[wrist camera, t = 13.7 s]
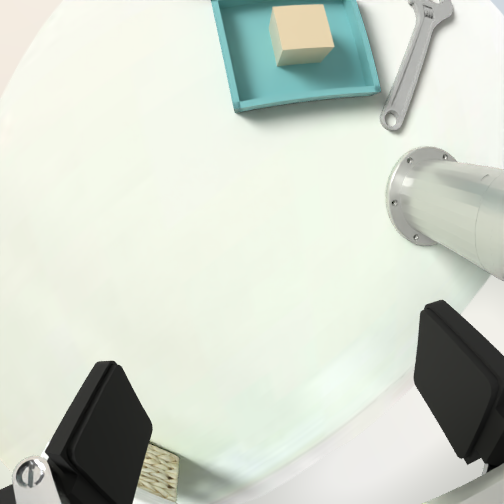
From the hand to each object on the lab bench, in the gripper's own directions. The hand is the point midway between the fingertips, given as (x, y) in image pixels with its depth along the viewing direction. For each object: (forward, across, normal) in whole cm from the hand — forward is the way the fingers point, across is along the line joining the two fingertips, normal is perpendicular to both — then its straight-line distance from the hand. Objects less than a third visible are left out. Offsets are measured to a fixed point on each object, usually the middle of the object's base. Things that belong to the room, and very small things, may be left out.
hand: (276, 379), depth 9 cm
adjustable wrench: (+29, -24, -18) cm, 41 cm away
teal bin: (+28, -8, -18) cm, 34 cm away
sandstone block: (+28, -8, -18) cm, 34 cm away
